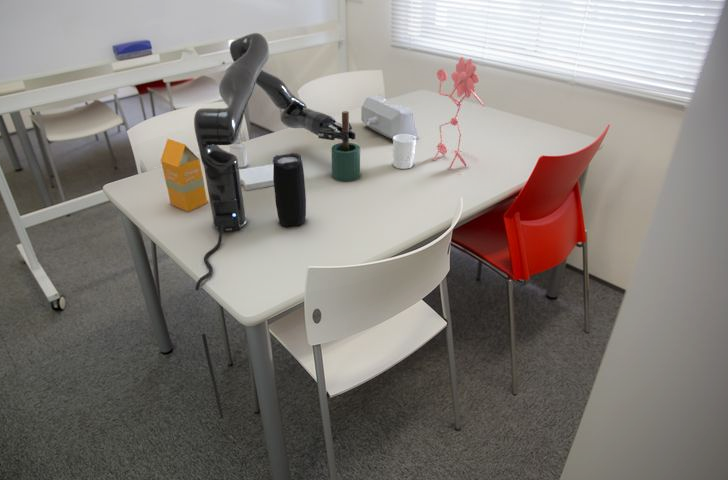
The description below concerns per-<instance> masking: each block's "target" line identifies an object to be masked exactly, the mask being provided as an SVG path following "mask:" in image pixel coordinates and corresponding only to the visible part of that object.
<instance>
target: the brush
mask: <svg viewBox="0 0 728 480" xmlns="http://www.w3.org/2000/svg"><path fill="white" fill-rule="evenodd" d="M349 123H350V112H349V111H346V110H344V111H342V112H341V124H342V132H343V133H345V134H348V135H349ZM341 143H342V150H341V151H351V150H349V143H350V140H349V141H347V142H346V141H343V140H341Z"/></svg>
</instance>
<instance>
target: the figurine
mask: <svg viewBox="0 0 728 480" xmlns="http://www.w3.org/2000/svg"><path fill="white" fill-rule="evenodd" d="M476 70H477V65H475V64H473V60H472V58H468V59H467V60H466V61H465V58H464V57H463V56H461V57H460V58H459V60H458V62H457V63H456V64H455V71H453V72H451V75H450V76H451V79H452V81H453V90H452V91H451V93H450V94H448V93H442V84H443V83H444V82H445V81H447V79H448V73H447V72H446V71H445V70H444V68H442V69H439V70H438V71H437V72H436V78H437V79H438V80H439V89H438V95H439V96H444V97H448V98H449V99H451V101H452V102H453V103H454V104H455V105H456V106H457V111H456V114H455V116H453V117H451V118H450V121H449V122H445V123H443V124H440V125H439V134H440V135H439V137H440V142H439V143H438V144H437V145H436V148H437V152H436V154H435V156H434V158H433V160H434V161H436V159H437V157H438V155H439V153H440V154H441V155H442V156H444V155H446V154H447V152H448V148H447V146H446V145H445V144H444V143H443V139H442V138H443V137H442V127H443V126H445V125H449V124H450V125H452V126H453V127H454V126H457V129H458V132H459V138H458V144H457V145H458V147H457V150H456V149H455V150H454V149H451V151H452V152H454V154H455V155H454V157H453V159H452V161H451V162H450V165H449V166H448V169H449V170H451V169H452V166H453V164H454V162H455V160H456V158H458V160H459V161H460V162H461V163H462V164H463V165H464V167H465V168H466V167H467V166H468V165H467V163H466V162H465V159H464V158H463V157H462V156H461V154H460V153H464V154H467V155H470V156H471V154H470V153H467V152H465V151H461V150H460V145H461V137H462V133H461V129H460V126H459V119H458V118H457V117H458V114H459V112H460V109H461V106H462V102H463V100H465V98H466V99H470V97H471V94H472V95H473V97H474V98H475V99H476V100H477V101H478V102H479V103H480V104H481V105H482V107H483V108H485V107H486V105H485V104H484V103H483V102H482V100H481V99H480V98H479V97H478V95H477V94H476V92H475V90H476V86H475V84H477V83H479V81H480V78H479V76H478V75H477V73H476ZM455 91H456V96H457V97H459V98H460V97H462V98H461V99H460V101H459V100H457V99H456V98H455V97H453V95H454V93H455ZM474 155H475V154H472V157H474V158H475V159H476V160H477V161H478V162H480V160H479V159H478V158H477V157H476V156H474ZM457 175H458V176H459V175H461V173H460V174H459V173H458V174H457Z"/></svg>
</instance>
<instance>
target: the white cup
mask: <svg viewBox="0 0 728 480" xmlns="http://www.w3.org/2000/svg"><path fill="white" fill-rule="evenodd" d="M416 143H417V138H416V137H415V136H413V135H409V134H399V135H396V136H394V137H393V140H392V157H393V165H392V166H394V167H395V168H397V169H400V170H407V169H410V168H413V166H414V158H415V151H416Z"/></svg>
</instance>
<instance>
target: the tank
mask: <svg viewBox="0 0 728 480" xmlns="http://www.w3.org/2000/svg"><path fill="white" fill-rule="evenodd" d="M386 100H387V99H386V98H385V97H383V96H380V95H378V94H376V95H369V96H366V98H365V100H364V102H363V103H362V105H361V108H360V110H361V112H360V116H361V117H360V119H361V122H362V123H363V124H364V125H365V126H366V127H367V128H369V129H370V130H372V131H375V132H377V133H378V134H380V135H382V136H384V137H385V138H388V139H390V140H392V141H393V137H394V136H396V135H399V134H409V135H413V136H415V137H416V139H418V138H419V135H418V131H417V127H416V123H415V120H414V115H413V112H412V110H411V109H410V108H408V107H405V106H404V105H401V104H397V103H396V104H389V103H385V101H386ZM391 138H392V139H391Z"/></svg>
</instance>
